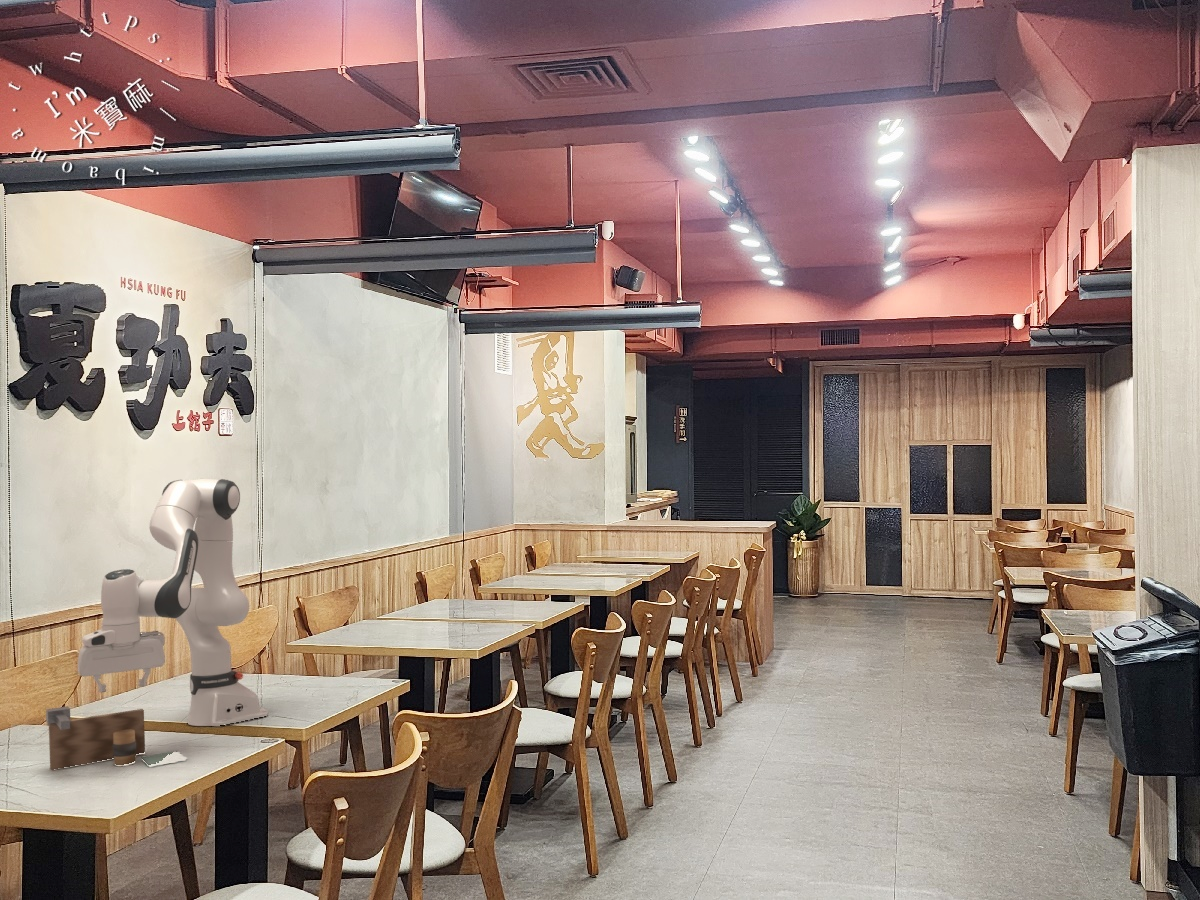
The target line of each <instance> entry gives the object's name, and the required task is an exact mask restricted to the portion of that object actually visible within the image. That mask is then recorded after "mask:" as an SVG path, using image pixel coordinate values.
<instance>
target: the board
mask: <svg viewBox="0 0 1200 900" xmlns="http://www.w3.org/2000/svg"><path fill="white" fill-rule="evenodd" d="M120 730H135V740H136V754H139V753H144V752H145V753H146V739H145V738H146V737H145V733H146V731H145V710H144V709H143V708H139V709H132V710H131V709H130V710H126V711H120V712H119V711H118V712H112V713H111V712H110V713H105V714H100V715H99V714H98V715H93V716H86V717H80V718H79V717H78V718H73V719H70V729H64V730H61V729H60V728H59V727H58V726H57V724H56V723H52V724H48V741H49V743H48V745H49V770H50V771H51V770H52V771H55V770H54V769H57V770H59V769H58V768H63V769H65V768H64V767H69V768H71V767H70V766H75V765H80V766H82V765H81V764H86V765H88V764H87V763H92V762H97V761H102V760H107V759H112V758H114V756H113V733H114V732H116V731H120ZM92 764H93V763H92ZM75 767H76V766H75Z"/></svg>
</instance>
